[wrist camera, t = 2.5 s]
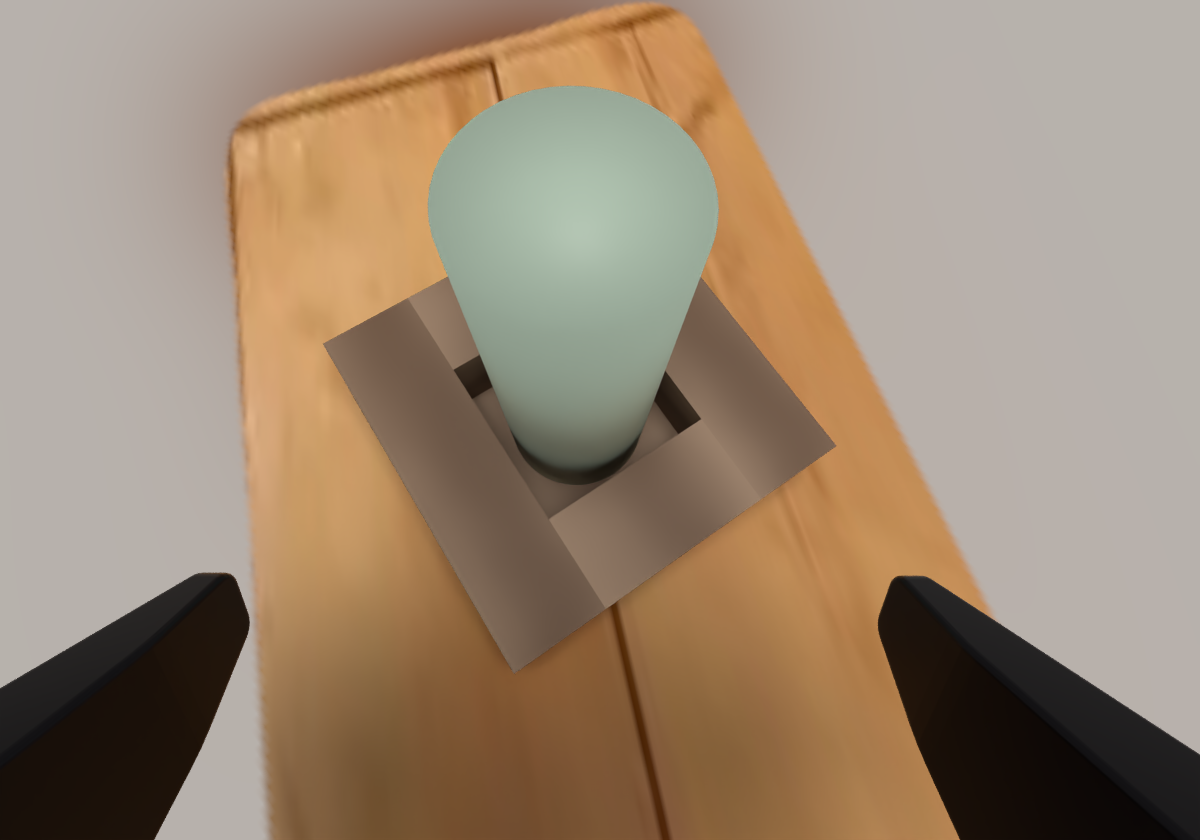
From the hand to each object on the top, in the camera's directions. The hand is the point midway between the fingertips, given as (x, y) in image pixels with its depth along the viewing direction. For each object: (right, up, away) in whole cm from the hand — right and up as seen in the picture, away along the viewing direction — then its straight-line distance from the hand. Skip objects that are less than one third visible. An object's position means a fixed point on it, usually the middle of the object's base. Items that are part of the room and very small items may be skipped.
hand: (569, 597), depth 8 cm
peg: (0, +2, +14) cm, 14 cm away
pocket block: (0, +2, +14) cm, 14 cm away
